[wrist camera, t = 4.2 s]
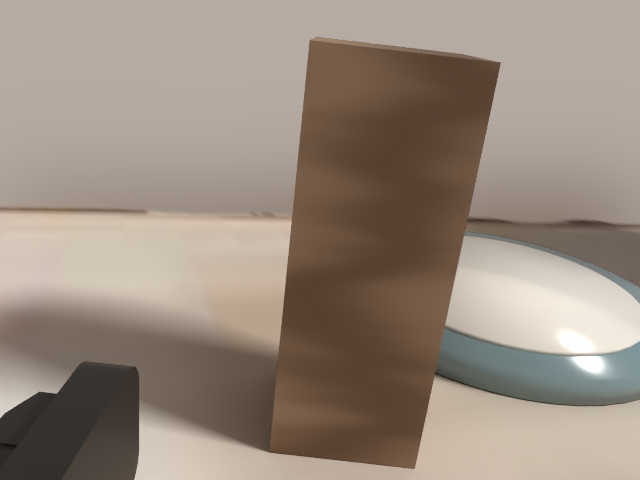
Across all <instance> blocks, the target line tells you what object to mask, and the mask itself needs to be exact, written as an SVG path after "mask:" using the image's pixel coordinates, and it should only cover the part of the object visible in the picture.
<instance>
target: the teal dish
mask: <svg viewBox="0 0 640 480" xmlns="http://www.w3.org/2000/svg"><path fill="white" fill-rule="evenodd" d="M435 372H436V373H438V374H440V375H443V376H445V377H448V378H451V379H454V380H456V381H459V382H462V383H464V384H467V385H470V386H474V387H477V388H481V389H484V390H487V391H491V392H494V393H498V394H503V395H507V396H512V397H516V398H521V399H525V400H532V401H539V402H545V403H552V404H565V405H578V406H587V405H611V404H619V403H627V402H631V401H635V400H639V399H640V288H639V287H638V286H636V285H634V284H632V283H631V282H629V281H627V280H625V279H624V278H622V277H620V276H618V275H616V274H614V273H612V272H610V271H608V270H606V269H603V268H601V267H599V266H596V265H594V264H592V263H589V262H587V261H584V260H582V259H579V258H576V257H574V256H571V255H568V254H565V253H562V252H559V251H556V250H553V249H549V248H546V247H542V246H539V245H535V244H531V243H527V242H523V241H519V240H515V239H510V238H505V237H500V236H494V235H488V234H482V233H474V232H466V231H465V234H464V238H463V243H462V248H461V253H460V257H459V262H458V267H457V271H456V276H455V281H454V286H453V290H452V295H451V300H450V304H449V309H448V314H447V319H446V323H445V328H444V333H443V337H442V342H441V347H440V352H439V356H438V361H437V366H436V370H435Z"/></svg>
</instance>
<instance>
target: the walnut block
mask: <svg viewBox="0 0 640 480" xmlns="http://www.w3.org/2000/svg"><path fill="white" fill-rule="evenodd" d="M499 69H500V62H495V61H491V60H486V59H481V58H477V57H473V56H468V55H464V54H456V53H447V52H439V51H430V50H423V49H414V48H406V47H397V46H389V45H380V44H371V43H363V42H355V41H346V40H338V39H330V38H321V37H316V38H314V39H311V40H310V43H309V54H308V63H307V74H306V83H305V94H304V104H303V114H302V125H301V134H300V144H299V154H298V164H297V175H296V184H295V195H294V206H293V215H292V225H291V235H290V245H289V255H288V265H287V276H286V286H285V296H284V306H283V316H282V326H281V336H280V346H279V357H278V367H277V377H276V387H275V397H274V407H273V417H272V427H271V438H270V448H269V452H273V453H282V454H291V455H299V456H308V457H317V458H326V459H335V460H344V461H353V462H362V463H370V464H379V465H388V466H397V467H406V468H415V465H416V460H417V455H418V451H419V446H420V441H421V436H422V432H423V427H424V422H425V418H426V413H427V408H428V403H429V399H430V394H431V389H432V385H433V380H434V375H435V370H436V366H437V361H438V356H439V352H440V347H441V342H442V337H443V333H444V328H445V323H446V319H447V314H448V309H449V304H450V300H451V295H452V290H453V286H454V281H455V276H456V271H457V267H458V262H459V257H460V253H461V248H462V243H463V238H464V234H465V229H466V224H467V220H468V215H469V210H470V205H471V201H472V196H473V191H474V186H475V182H476V177H477V172H478V168H479V163H480V158H481V153H482V148H483V144H484V139H485V135H486V130H487V125H488V121H489V116H490V111H491V106H492V101H493V97H494V92H495V87H496V83H497V78H498V73H499Z"/></svg>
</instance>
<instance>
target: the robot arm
mask: <svg viewBox="0 0 640 480" xmlns="http://www.w3.org/2000/svg"><path fill="white" fill-rule="evenodd" d="M138 456H139V375H138V371H137V369H136V368H135V367H131V366H122V365H113V364H104V363H95V362H87V361H85V362H82V363H81V364H80V365H79V366H78V367H77V369H76V370H75V371H74V372H73V374H72V375H71V376H70V378H69V379H68V380H67V382H66V383H65V384H64V385H63V387H62V388H61V389H60V391H59V392H58V393H57V394H54V393H45V392H38V393H37V394H35V395H34V396H32V397H30V398H29V399H27V400H25V401H24V402H22V403H21V404H19V405H17V406H16V407H14V408H13V409H11V410H9V411H8V412H6V413H5V414H4V415H3V416H2V417H1V418H0V480H134V478H135V474H136V469H137V464H138Z"/></svg>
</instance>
